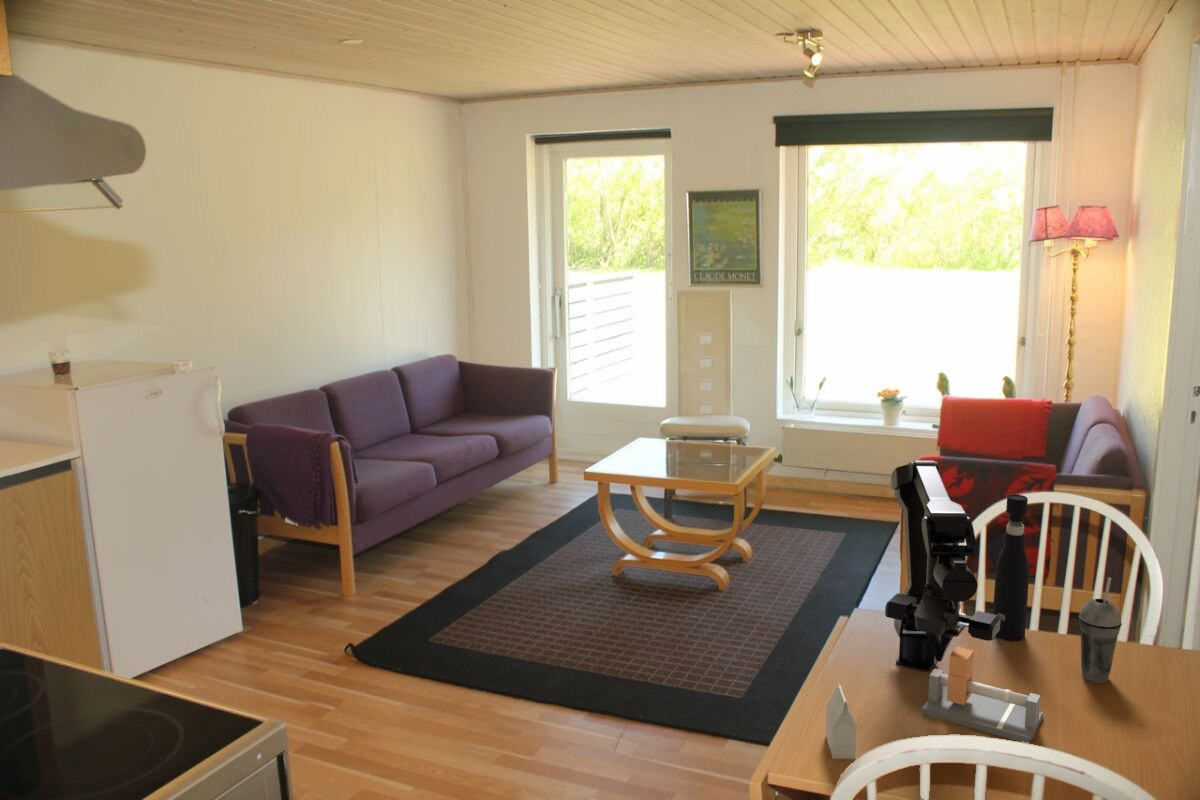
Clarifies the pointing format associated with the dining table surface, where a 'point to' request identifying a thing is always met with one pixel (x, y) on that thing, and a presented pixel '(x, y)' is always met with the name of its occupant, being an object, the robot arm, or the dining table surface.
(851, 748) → the grey gable top carton
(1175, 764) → the dining table surface
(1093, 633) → the beverage cup
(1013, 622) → the black water bottle
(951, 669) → the collar
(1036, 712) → the rail stand
